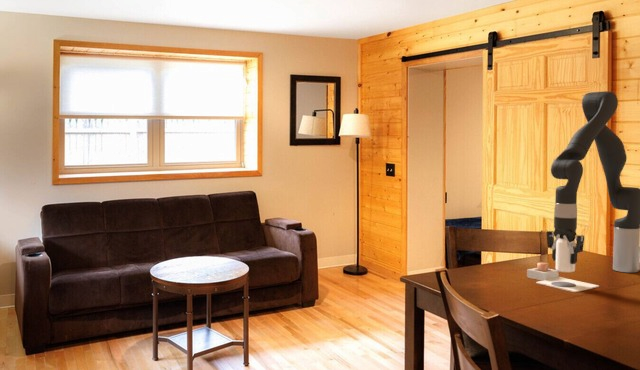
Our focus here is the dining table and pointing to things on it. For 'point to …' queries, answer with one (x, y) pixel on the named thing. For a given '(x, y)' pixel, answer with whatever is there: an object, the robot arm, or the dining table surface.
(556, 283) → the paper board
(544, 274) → the button housing
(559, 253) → the can
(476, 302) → the dining table surface
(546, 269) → the button
